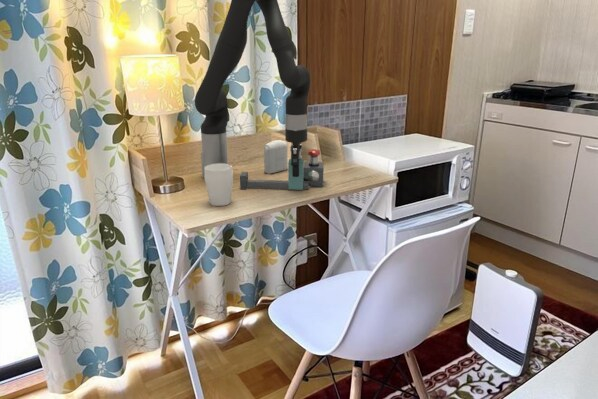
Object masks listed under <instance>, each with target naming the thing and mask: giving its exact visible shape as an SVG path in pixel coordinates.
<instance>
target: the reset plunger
mask: <svg viewBox="0 0 598 399" xmlns="http://www.w3.org/2000/svg"><path fill="white" fill-rule="evenodd" d="M307 155H308V156H309V162H310V166H318V162H319V156H320V155H321V150H320V149H316V148H314V149H308V150H307Z"/></svg>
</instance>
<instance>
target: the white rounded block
mask: <svg viewBox="0 0 598 399" xmlns="http://www.w3.org/2000/svg"><path fill="white" fill-rule="evenodd" d="M263 164H264V166H263V167H264V168H263V169H264V170H263V171H264V173H266V174H269V175H270V174H274V173H275V174H276V173H278V172H282V171H286V170H288V142H287V141H286V140H285V141H284V140H280V139H275V140H272V141H270V142H268V143H266V144H264V147H263Z"/></svg>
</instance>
